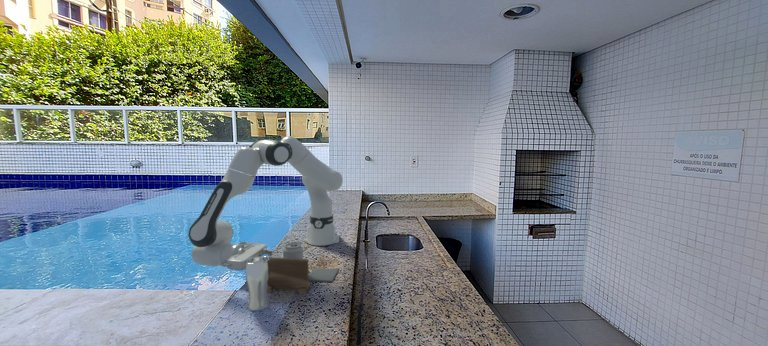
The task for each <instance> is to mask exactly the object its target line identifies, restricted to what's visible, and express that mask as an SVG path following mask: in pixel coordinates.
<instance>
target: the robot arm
mask: <svg viewBox="0 0 768 346" xmlns="http://www.w3.org/2000/svg"><path fill="white" fill-rule="evenodd" d="M287 162H288V163H289V165H291V166H292V167H293V168H294V170H296V171H297V172H298V173H299V174H300V175H301V182H302V184H303V185H304V187H305V188H306V191H307V193H308V196H309V201H310V217H309V225H307V227H306V237H305V238H304V239H303V242H305V243H307V244H309V245H312V246H328V245H329V246H330V245H333V244H338V243H340V233H339V232H336V229H337V228H336V225H335V223H334V214H333V200H332V199H331V197H330V196H329V194H328V193H327V192H332V191H333V192H335V191H338V190H339V189H340V188H341V187H342V185H343V175H342V174H341V173H340V172H339V171H337V170H335V169H333V168H331V167H330V166H328V165H327V164H326V163H324V162H323V161H321V160H319V159H318V158H317V157H316V156H315V155H314V154H313V153H312V152H311V151H310V150H309V149H308V147H307V146H305V145H304V144H303V143H302V142H301V141H299V139H297V138H296V137H294V136H293V135H292V136H291V135H289V136H288V135H287V136H285V137H283V138H282V139H280V141H278V140H273V139H258V140H255V141H254V142H253V143H251V145H249V146H242V147H240V148H239V149H238V150H237V151H236V153H235V154H234V156H233V157H232V160H231V161H230V163H229V166H228V167H227V170H226V173H225V174H224V176H223V178H222V179H221V181H220V182H218V184H217V185H216V187H215V188H214V189H213V191H212V193H211V195H210V196H209V198H208V200H207V202H206V203H205V206H204V208H203V209H202V211H201V213H200V214H199V216H198V218H196V220H194V221H193V223H192V224H191V226H190V227H189V229H188V239H189V241H190V243H191V244H192V245H193V248H192V250H191V258H192V261H194V263H196V264H198V265H199V266H200V265H201V266H206V267H218V266H220V267H225V268H227V269H228V270H232V271H233V270H235V271H244V270H245V271H246V263H247V262H246V261H247V260H248V259H250V258H253V257H258V256H264V255H266V256H267V257H268V256H270V257H272V256H273V255H274V252H275V251H274V250H273V249H272V250H270V249H268V246H267V244H266V243H256V242H251V243H250V242H249V241H242V242H239V243H231V242H232V238H233V234H234V229H233V225H232V224H231V223H230V222H228V221H226V220H219V218H220V216H221V214H222V213H223V210H224V208H225V207H226V205H227V203H228V202H229V201H230V200H232V199H233V198H234V197H237V196H240V195H242V194H245V193H246V192H248V191H249V190H250V188H252V185H253V184H254V181H255V179H256V178H257V177H256V176H257V174H258V171H259V169H260V167H262V166H263V165H269V166H274V167H279V166H283V165H285V164H286V163H287Z"/></svg>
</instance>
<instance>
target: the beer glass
mask: <svg viewBox="0 0 768 346" xmlns="http://www.w3.org/2000/svg"><path fill="white" fill-rule="evenodd" d="M269 258H270V257H268V256H264V255H263V256H258V257H253V258H250V259H248V260H247V261H246V262H247V263H246V269H245V279H246V281H245V282H246V287H247V291H248V296H249V297H248V306H247V308H248V310H250V311H253V312H256V311H257V312H258V311H262V310H264V309H266V308H268V306H270V305H269V304H270V303H269V299H268V292H267V290H268V284H269V278H270V265H269Z"/></svg>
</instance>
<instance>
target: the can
mask: <svg viewBox="0 0 768 346" xmlns="http://www.w3.org/2000/svg"><path fill="white" fill-rule="evenodd" d="M282 249H283V250H282V258H289V259H304V248H303V246H302V244H301V243H299V242H289V243H286V244H285V245H284V247H283V248H282Z"/></svg>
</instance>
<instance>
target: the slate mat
mask: <svg viewBox="0 0 768 346" xmlns="http://www.w3.org/2000/svg"><path fill="white" fill-rule="evenodd" d="M338 273H339V269H338V268H321V267H318V268H317V267H314V268H313V269H312V271H311V272H310V273H309V274H308V282H319V283H333V282H334V280H335V278H336V276H337V275H338Z"/></svg>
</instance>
